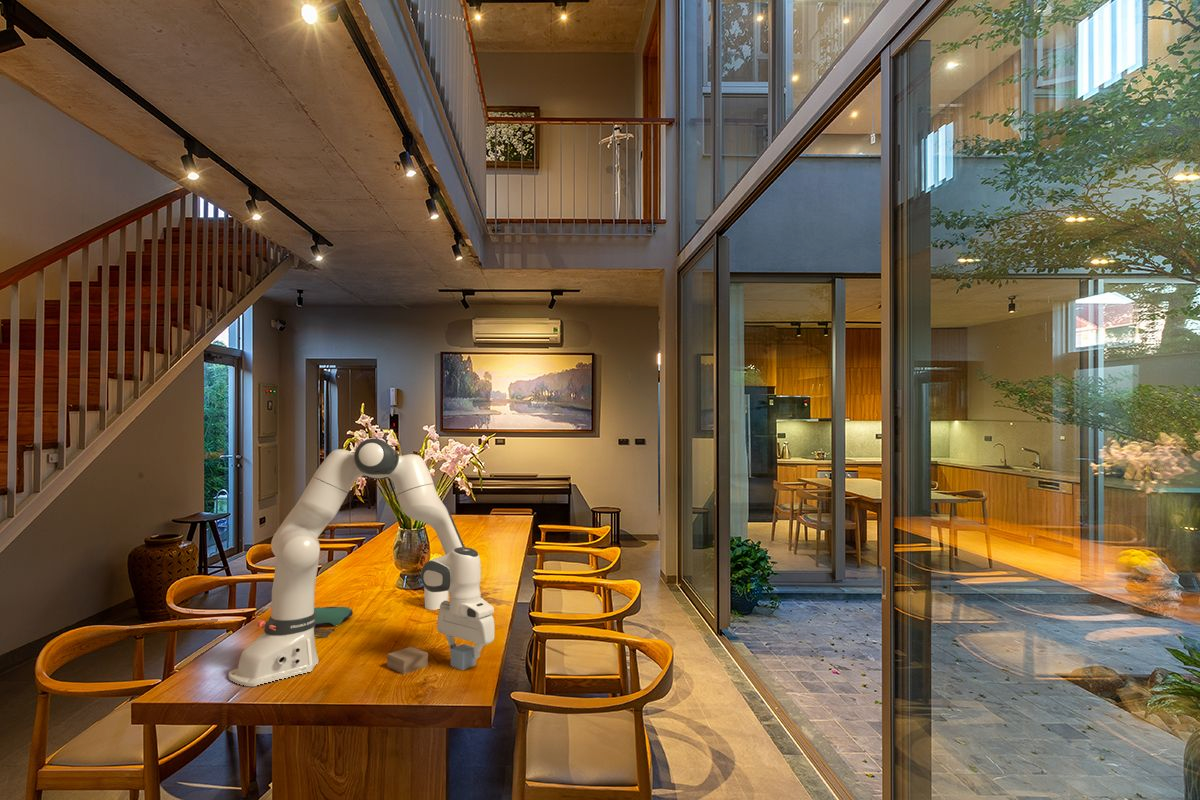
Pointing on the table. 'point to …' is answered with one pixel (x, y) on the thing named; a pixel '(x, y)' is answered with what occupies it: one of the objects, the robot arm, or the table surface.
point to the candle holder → (434, 599)
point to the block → (462, 657)
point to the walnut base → (407, 660)
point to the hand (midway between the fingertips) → (464, 653)
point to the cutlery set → (330, 617)
